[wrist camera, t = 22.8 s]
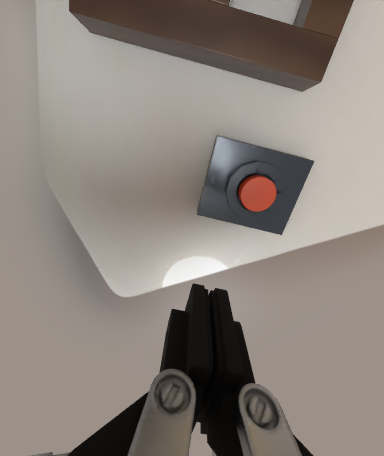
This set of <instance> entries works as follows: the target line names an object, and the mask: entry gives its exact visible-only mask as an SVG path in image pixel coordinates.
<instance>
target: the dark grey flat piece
mask: <svg viewBox="0 0 384 456" xmlns="http://www.w3.org/2000/svg"><path fill="white" fill-rule="evenodd" d="M313 163H314V161H312V160H309V159H305V158H301V157H297V156H293V155H290V154H286V153H282V152H278V151H274V150H271V149H267V148H263V147H259V146H255V145H251V144H248V143H244V142H240V141H236V140H232V139H229V138H225V137H221V136H217V137H216V140H215V144H214V148H213V152H212V156H211V160H210V163H209V167H208V171H207V175H206V179H205V183H204V186H203V190H202V194H201V198H200V202H199V206H198V209H197V215H201V216H205V217H210V218H214V219H218V220H222V221H226V222H230V223H234V224H238V225H243V226H247V227H251V228H255V229H259V230H263V231H267V232H271V233H276V234H280V235H282V233H283V231H284V229H285V226H286V224H287V222H288V220H289V217H290V215H291V213H292V211H293V208H294V206H295V204H296V202H297V199H298V197H299V195H300V192H301V190H302V188H303V186H304V183H305V181H306V179H307V177H308V174H309V172H310V170H311V168H312V165H313ZM252 175H261V176H264V177H266V178H268V179H270V180H271V181H272V182H273V183H274V185H275V187H276V198H275V200H274V202H273V204H272V205H271V206H270V207H268V208H267V209H265V210H263V211H258V212H256V211H251V210H248V209H247V208H246V207H245V206H244V205H243V204H242V202H241V201H240V199H239V195H238V191H239V187H240V185H241V183H242V182H243V181H244V180H245V179H246V178H248V177H249V176H252Z"/></svg>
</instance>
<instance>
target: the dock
mask: <svg viewBox="0 0 384 456" xmlns="http://www.w3.org/2000/svg"><path fill="white" fill-rule="evenodd" d="M353 1H354V0H302V1H301V5H300V8H299V11H298V14H297V17H296V20H295V23H294V25H290V24H287V23H283V22H280V21H277V20H273V19H270V18H266V17H263V16H260V15H256V14H253V13H249V12H246V11H243V10H239V9H236V8H232V7H229V6H228V5H229V0H69V11H70V12H71V13H72V14H73V15H74V16H75V17H76V18H77V19H78V20H79V21H80V22H81V23H82V24H83V25H84V26H85V27H86V28H87V29H88V30H89V32H91V33H95V34H98V35H102V36H105V37H109V38H113V39H116V40H120V41H123V42H127V43H130V44H134V45H138V46H141V47H145V48H148V49H152V50H156V51H159V52H163V53H166V54H170V55H174V56H177V57H181V58H184V59H188V60H192V61H195V62H199V63H202V64H206V65H209V66H213V67H217V68H220V69H224V70H227V71H231V72H235V73H238V74H242V75H245V76H249V77H253V78H256V79H260V80H263V81H267V82H271V83H274V84H278V85H281V86H285V87H288V88H292V89H296V90H299V91H305V90H307V89H309V88H311V87H313V86H314V85H316V84H318V83H320V82H321V81H322V79H323V76H324V74H325V71H326V69H327V66H328V64H329V61H330V59H331V56H332V53H333V51H334V48H335V46H336V43H337V41H338V38H339V36H340V34H341V31H342V29H343V26H344V23H345V21H346V18H347V16H348V13H349V11H350V8H351V6H352V3H353Z"/></svg>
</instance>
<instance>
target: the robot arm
mask: <svg viewBox="0 0 384 456" xmlns="http://www.w3.org/2000/svg"><path fill="white" fill-rule="evenodd" d="M196 422H200V423H201V434H207V443H208V444H209V446H210V447H211V449H212V450H213V451H212V453H213V456H313V455H312V454H311V453H310V452H309V451H308V450H307V448H306V447H305V446H303V444H302V443H301V442H300V441H299V440H298V439H297V438H296V437H295V436H294V435H293V433H292V431H291V429H290V427H289V424H288V422H287V419H286V418H285V415H284V413H283V410H282V408H281V406H280V404H279V402H278V401H277V399H276V398H275V397H274V395H273V394H272V393H271V392H270V391H269V390H268V389H266V388H265V387H263V386H261V385H259V384H255V380H254V376H253V372H252V367H251V363H250V360H249V355H248V351H247V347H246V343H245V339H244V335H243V331H242V327H241V324H240V323H239V322H236V321H233V316H232V312H231V306H230V301H229V296H228V292H227V291H226V290H222V289H218V288H215V290H214V291H212V290H211V291H210V293H209V295H208V290H207V289H205V288H204V286H203V285H198V284H192V288H191V291H190V295H189V298H188V301H187V305H186V309H185V311H181V310H176V309H172V310H171V314H170V318H169V322H168V327H167V332H166V337H165V343H164V349H163V355H162V361H161V367H160V373H159V374H158V375H157V376H156V377H155V379H154V381H153V383H152V385H151V387H150V390H149V392H148V393H146V394H145V395H143V396H142V397H141V398H140V399H138V400H137V401H136V402H135V403H134V404H132V405H131V406H129V407H128V408H127V409H126V410H124V411H123V412H122V413H120V414H119V415H118V416H116V417H115V418H114V419H112V420H111V421H110V422H109V423H107V424H106V425H105V426H103V427H102V428H101V429H100V430H99V431H97V432H96V433H94V434H93V435H92V436H91V437H89V438H88V439H87V440H85V441H84V442H83V443H81V444H80V445H79V446H78V447H76V448H75V449H74V450H73V451H72V452H70V453H65V454H58V455H53V453H52V452H51V453H45V454H38V455H32V456H188V455H189V448H190V440H191V434H192V432H193V429H194V427H195V424H196Z"/></svg>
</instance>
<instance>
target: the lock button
mask: <svg viewBox="0 0 384 456" xmlns="http://www.w3.org/2000/svg"><path fill="white" fill-rule="evenodd" d="M238 195H239V199H240V201H241V202H242V204H243V205H244V206H245V207H246V208H247V209H248V210H251V211H256V212H258V211H263V210H265V209H267V208H268V207H270V206H271V205H272V204H273V202H274V200H275V198H276V187H275V185H274V183H273V182H272V181H271V180H270V179H268V178H266V177H264V176H261V175H252V176H249V177H248V178H246V179H245V180H244V181H243V182H242V183H241V185H240V187H239V191H238Z"/></svg>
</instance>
